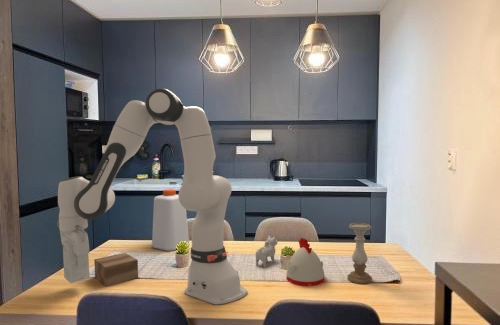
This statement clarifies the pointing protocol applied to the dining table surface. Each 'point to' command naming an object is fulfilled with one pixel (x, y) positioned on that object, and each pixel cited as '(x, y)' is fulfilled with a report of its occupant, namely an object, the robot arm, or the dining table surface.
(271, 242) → the dog figurine
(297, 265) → the kitchen timer
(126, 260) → the walnut block
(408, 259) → the dining table surface
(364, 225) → the candle holder
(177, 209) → the plastic bottle
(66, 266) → the small box
